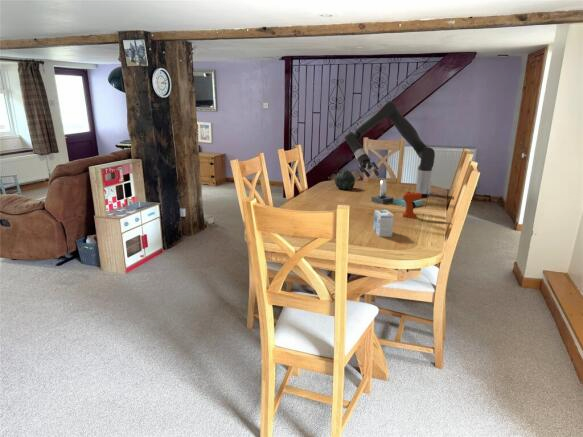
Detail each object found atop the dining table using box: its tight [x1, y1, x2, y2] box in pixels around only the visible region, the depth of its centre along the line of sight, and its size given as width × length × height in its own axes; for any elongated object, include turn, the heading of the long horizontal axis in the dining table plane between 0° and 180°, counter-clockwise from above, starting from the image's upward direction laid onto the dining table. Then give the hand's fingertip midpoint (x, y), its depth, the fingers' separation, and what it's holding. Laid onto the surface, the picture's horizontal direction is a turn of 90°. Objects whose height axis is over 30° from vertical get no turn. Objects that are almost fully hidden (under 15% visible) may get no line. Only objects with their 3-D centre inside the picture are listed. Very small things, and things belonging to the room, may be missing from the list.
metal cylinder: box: [378, 179, 388, 198], centre depth 266 cm, size 4×4×14 cm
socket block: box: [370, 194, 395, 205], centre depth 268 cm, size 10×10×3 cm
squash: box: [334, 170, 356, 191], centre depth 306 cm, size 14×15×15 cm
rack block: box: [392, 196, 424, 208], centre depth 261 cm, size 13×13×3 cm
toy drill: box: [402, 191, 438, 219], centre depth 229 cm, size 5×19×15 cm, turn 75°
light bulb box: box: [373, 209, 395, 238], centre depth 201 cm, size 11×7×11 cm, turn 5°
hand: (373, 176), depth 271 cm, fingers open, 8 cm apart
